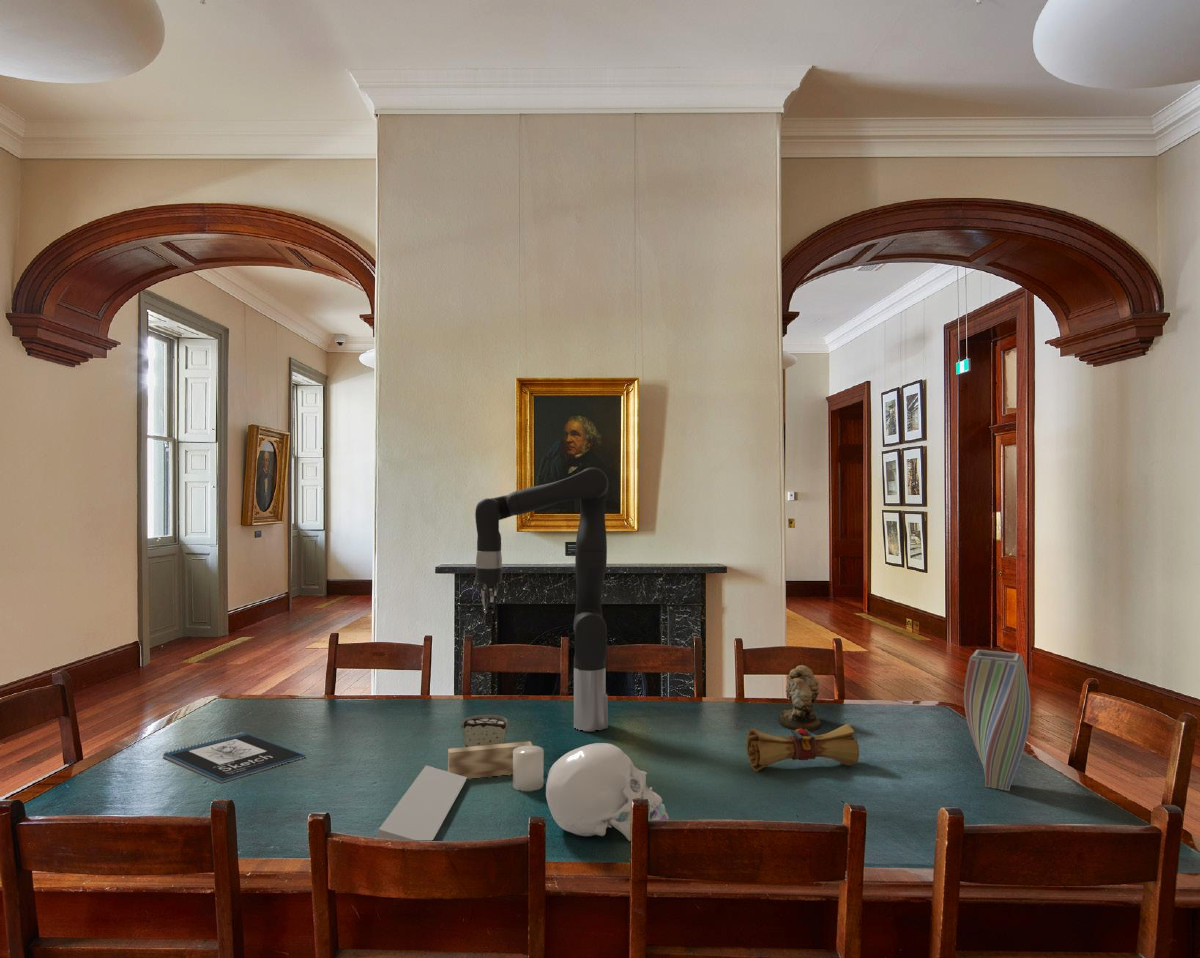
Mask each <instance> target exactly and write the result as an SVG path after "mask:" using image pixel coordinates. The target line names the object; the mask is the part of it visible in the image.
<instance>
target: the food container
mask: <svg viewBox="0 0 1200 958" xmlns="http://www.w3.org/2000/svg"><path fill="white" fill-rule="evenodd" d="M460 726H461V727H460V730H463V732H462V733H463V739H464V742H463V743H464V747H473V746H484V745H495V744H506V738H507V730H508V731H509V730H510V726H509V722H508V719H507V718H506V717H504V716H502V715H501V716H500V715H497V714H483V715H480V714H479V715H474V716H470V717H466V718H464V719H463V720H462V722H461V725H460Z"/></svg>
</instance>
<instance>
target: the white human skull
mask: <svg viewBox="0 0 1200 958" xmlns="http://www.w3.org/2000/svg"><path fill="white" fill-rule="evenodd" d="M647 775H648V773H647V772H646V771H644V770H640V769H638V768H637V767H636V766H635V765H634V762H633V761H632V760H631V758H630V757H629V756H628V754H625V752H624V751H623V750H622V749H621V748H619V747H618V746H616V745H614V744H612V743H608V742H607V743H606V742H595V743H590V744H586V745H583V746H580V747H577V748H574V749H573V750H570V751H568V752H566V753H564V754H563V755H562V756H561V757H560V758H558V759H557V760H556V761H555V762H554V763H553V764H552V766H551V767H550V769H549V771H548V774H547V779H546V785H545V798H546V802H547V805H548V809H549V812H550V814H551V816H552V818H553V820H554V822H555V823H556V824H557V825H558V826H559V828H560V829H562V830H563V831H566V832H568V833H572V834H573V835H576V836H582V837H592V836H599V837H604V836H605V835H606V833H607V828H610V829H611V828H612V827H613V828H615V829H616V830H617V831H619V833H621V834H622V835H624V837H625V838H626V839H627V840H628V841H629V842H630V823H631V806H632V799H635V798H643V799H648V801H649V804H650V819H649V820H660V819H668V820H669V818H670V816H669V815H668V812H666V807H665V806H666V805H665V804H663V803H662V802H663V798H662V796H660V795H659V794H658V793H656V792H655V791H653V787H648V785H647V777H646V776H647ZM621 814H623V816H624V817H625V820H623V821H620V820H619V821H618V820H617V819H620V816H621Z"/></svg>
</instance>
